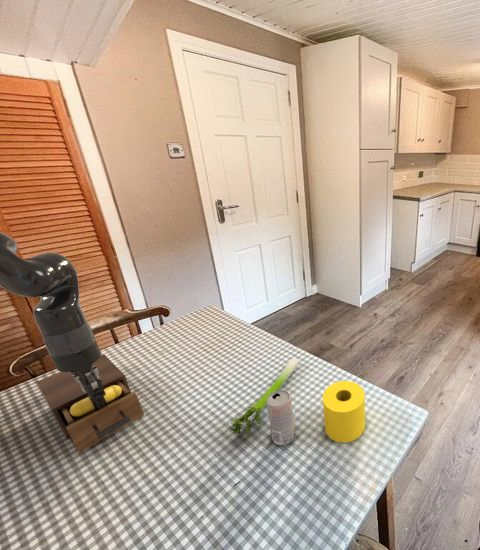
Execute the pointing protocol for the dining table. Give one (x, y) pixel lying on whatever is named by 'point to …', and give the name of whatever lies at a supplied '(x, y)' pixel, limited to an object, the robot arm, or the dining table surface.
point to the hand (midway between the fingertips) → (99, 404)
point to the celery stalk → (263, 400)
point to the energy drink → (281, 417)
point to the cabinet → (75, 388)
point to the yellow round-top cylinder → (86, 404)
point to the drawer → (102, 419)
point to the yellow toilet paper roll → (344, 411)
